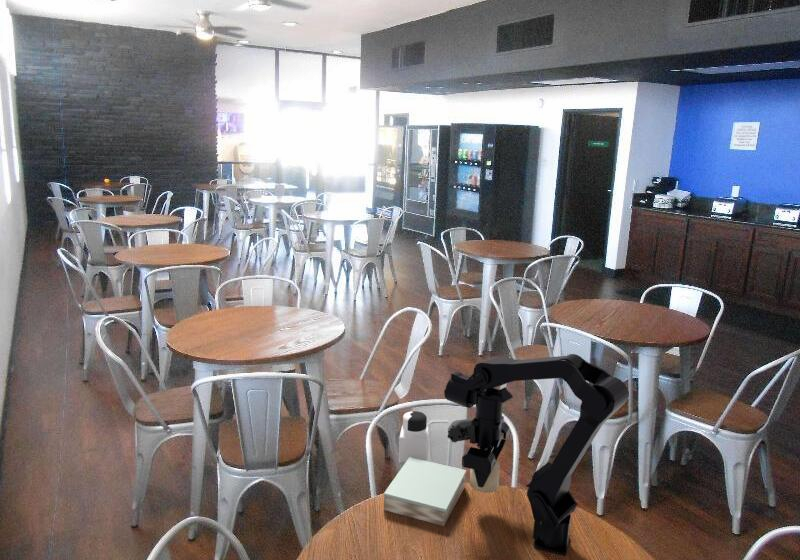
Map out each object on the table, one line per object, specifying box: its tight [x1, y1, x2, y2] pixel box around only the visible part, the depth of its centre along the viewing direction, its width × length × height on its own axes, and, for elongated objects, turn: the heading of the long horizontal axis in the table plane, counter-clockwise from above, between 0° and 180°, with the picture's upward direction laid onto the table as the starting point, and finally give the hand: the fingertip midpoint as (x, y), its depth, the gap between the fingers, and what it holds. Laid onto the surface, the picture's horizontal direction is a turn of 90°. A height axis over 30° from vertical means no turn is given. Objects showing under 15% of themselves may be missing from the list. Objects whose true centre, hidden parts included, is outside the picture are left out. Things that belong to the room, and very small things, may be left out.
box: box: [383, 476, 466, 527], centre depth 135 cm, size 14×16×3 cm
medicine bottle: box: [398, 410, 430, 464], centre depth 152 cm, size 7×7×12 cm
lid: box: [383, 457, 467, 512], centre depth 135 cm, size 14×16×1 cm
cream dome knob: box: [469, 459, 501, 493], centre depth 131 cm, size 6×6×5 cm
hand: (484, 479), depth 131 cm, fingers closed on cream dome knob, 6 cm apart
